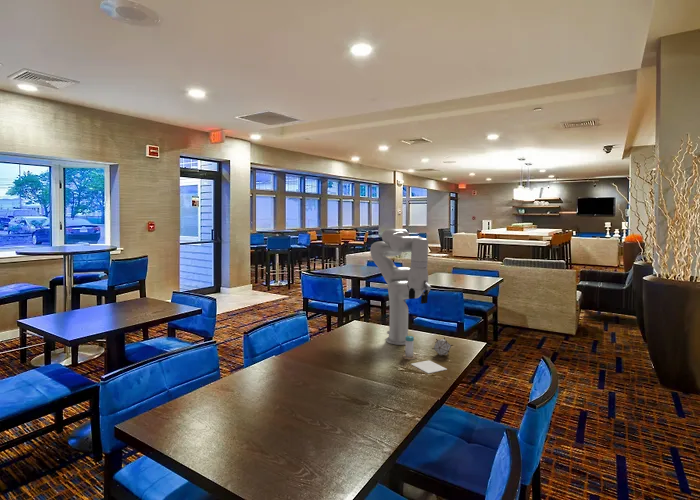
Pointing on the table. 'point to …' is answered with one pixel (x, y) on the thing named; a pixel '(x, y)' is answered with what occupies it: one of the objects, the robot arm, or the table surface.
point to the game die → (442, 347)
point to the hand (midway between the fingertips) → (417, 300)
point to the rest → (409, 358)
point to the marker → (409, 346)
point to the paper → (428, 366)
